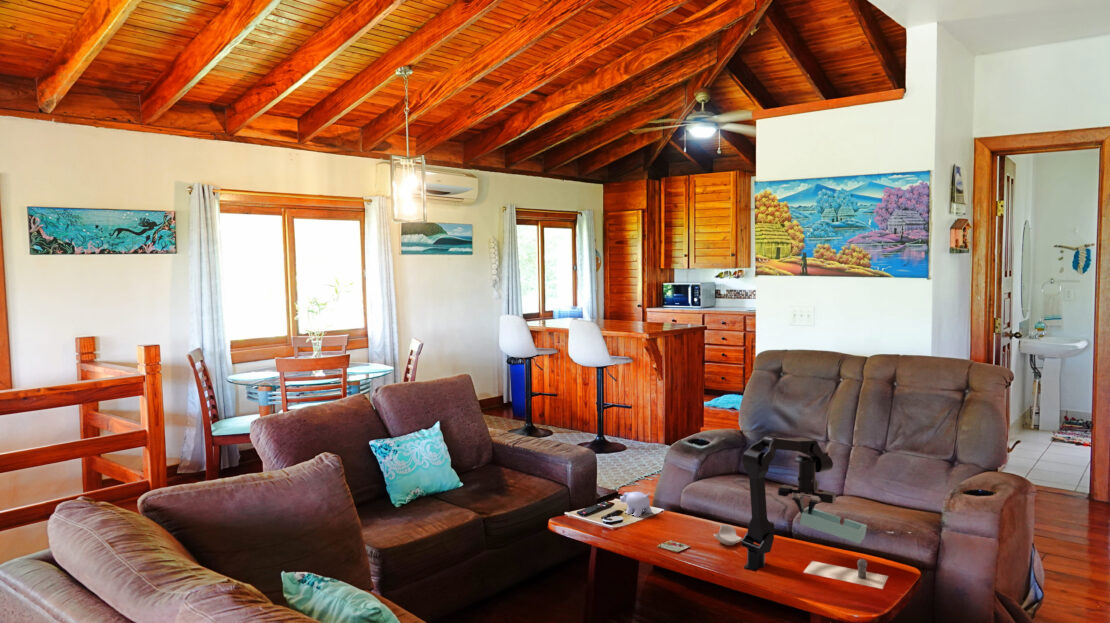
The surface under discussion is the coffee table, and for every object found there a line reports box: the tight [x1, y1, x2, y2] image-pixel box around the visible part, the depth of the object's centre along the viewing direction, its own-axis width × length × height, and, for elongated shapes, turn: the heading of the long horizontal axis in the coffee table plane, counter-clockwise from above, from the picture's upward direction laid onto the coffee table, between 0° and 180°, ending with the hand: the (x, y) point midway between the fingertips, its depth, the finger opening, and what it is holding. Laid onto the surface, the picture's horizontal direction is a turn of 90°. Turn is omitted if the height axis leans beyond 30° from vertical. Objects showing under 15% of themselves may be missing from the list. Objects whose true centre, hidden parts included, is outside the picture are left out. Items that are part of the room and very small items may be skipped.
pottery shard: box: [713, 524, 743, 546], centre depth 272 cm, size 10×11×5 cm
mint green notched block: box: [799, 506, 868, 544], centre depth 255 cm, size 20×9×4 cm, turn 57°
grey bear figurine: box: [619, 491, 652, 518], centre depth 308 cm, size 11×15×10 cm
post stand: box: [803, 558, 889, 590], centre depth 240 cm, size 24×12×7 cm, turn 57°
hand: (806, 517), depth 260 cm, fingers closed on mint green notched block, 2 cm apart
